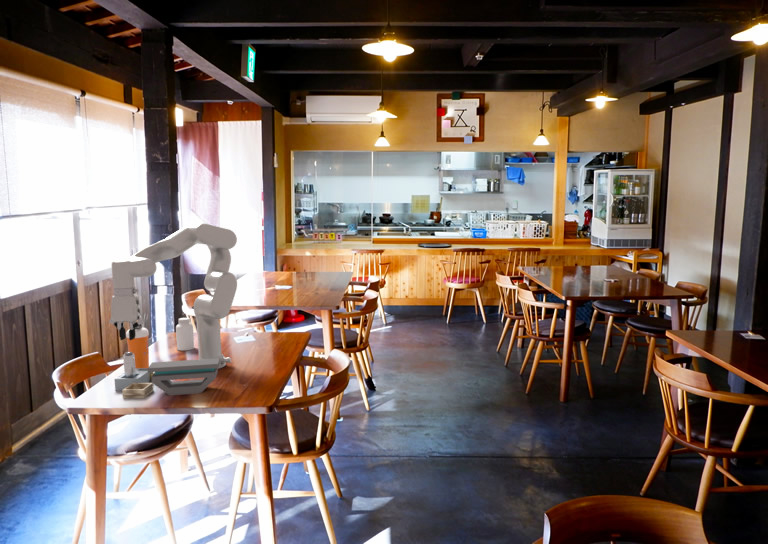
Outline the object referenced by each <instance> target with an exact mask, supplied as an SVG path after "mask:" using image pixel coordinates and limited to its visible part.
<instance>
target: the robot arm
mask: <svg viewBox="0 0 768 544" xmlns="http://www.w3.org/2000/svg"><path fill="white" fill-rule="evenodd" d="M237 240H238V237H237V235H236V233H235V232H234V231H233V230H231V229H229V228H226V227H225V228H224V227H221V226H217V225H212V224H208V223H205V222H204V223H203V222H191V223H188V224H186V225H184V226H183V227H182V228H180V229H179V230H177V231H175V232H174V233H172V234H170V235H168V236H167V237H166V238H165V239H162V240H159V241H157V242H156V243H153V244H151V245H149V246H148V245H147V247H144V248H143V249H141V250H139V251H138V252H136V253H135V254H133V255H132V256H130V257H128V259H116V260H113V261H112V262H111V274H112V275H111V276H112V287H113V288H112V289H113V290H112V291H113V292H112V293H113V295H112V297H111V303H110V316H111V317H110V318H109V320H108V323H109V324H111V325H113V326H114V327H115V328H117V330H118V336H119V338H120V341H123V340H125V339H127V338H126V332H127V330H126V327H125V326H124V325H125V323H129V324H128V325H129V329H130V330H129V329H128V330H129V339H130V340H133V339H134V338H135V336H136V335H135V328H136V327H137V326H138V325H139V324H143V323H144V322H145V321H144V319H143V317H142V307H141V302H140V298H139V296H138V294H137V293H139V289H138V288H136V287H135V286H136V285H135V278H150V277H152V276H153V275H154V274H155V273H156V271H157V264H156V263H158V262H162V261H167V260H170V259H171V260H172V259H174V258H177V257H179V256H181V255H182V254H184V253H185V252H186V251H188V250H189V249H191V248H192V247H194V246H195V245H197V244H199V245H200V244H201V245H206V246H207V247H208V250H209V252H210V261H209V265H208V268H207V271H206V274H205V278H204V281H203V286H204V288H205V289H206V291H209V292H212V293H213V294H207V293H204V294H200V295H199V296H197V297H196V298H195V300H194V302H193V311H194V316H195V320H196V321H195V322H196V331H197V348H198V360H200V359H216V358H220V364H219V367H218V368H217V369H218V370H219V369H222V368H224V367H225V366H226V365H227V364H230V363H232V358H231V357H230V356H229V357H225V354H223V353H222V343H221V342H222V339H221V324H220V323H221V322H220V320H223V319H224V318H226V317H227V316H228V314H229V313H230V311H231V308H232V305H233V302H234V299H235V295H236V292H237V288H238V282H237V278H236V276H235V274H233V273H231V271H230V272H229V270H230V267H231V263H232V255H231V252H230V250H232V249H233V248H234V247H235V246H236V245H237V242H238V241H237Z"/></svg>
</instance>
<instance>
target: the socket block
mask: <svg viewBox="0 0 768 544" xmlns="http://www.w3.org/2000/svg"><path fill="white" fill-rule="evenodd" d="M149 373H154V372H148V368H136V377H135V378H125V372H123V373H121V374H119V376H117V377H115V378H114V390H115V391H122V390H123V389H124V388H126V387H127V386H129V385H130V384H132V383H148V382H149V381H150V374H149ZM150 382H151V381H150ZM150 382H149V383H150Z"/></svg>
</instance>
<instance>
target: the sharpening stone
mask: <svg viewBox="0 0 768 544" xmlns="http://www.w3.org/2000/svg"><path fill="white" fill-rule="evenodd" d="M219 364H220V358H216V359H200V360H199V359H185V360H171V361H170V360H169V361H155V362H154V361H153V362H151V363H150V364H149V367H148V372H153V373H154V374H153V376H152V381H151V383H153V385H155V386H156V387H157V388H158V389H160V391H162V392H163V393H165V394H167V395H168V396H181V395H193V394H194V393H195V394H202V393H203V392H204V391H205V389H207V387H209V386H210V385H211V383H213V382H214V380H215V379H216V378H217V375H218V373H219V372H218V370H219V369H217V368H218V367H219ZM188 379H189V380H188ZM190 379H191V380H190ZM174 380H175V381H174ZM195 394H194V395H195Z"/></svg>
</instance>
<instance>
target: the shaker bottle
mask: <svg viewBox="0 0 768 544" xmlns="http://www.w3.org/2000/svg"><path fill="white" fill-rule="evenodd" d="M129 330H130V328H129V329H128V330H126V338H125V339H126V342H127V343H126V344H127V350H128V351H127V352H133V354H134V355H135V368H148V367H149V366H150V356H149V355H150V353H149V350H150V349H149V346H150V344H149V336H150V334H149V333H150V332H149V330H148V328H146V327H144V324H143V323H141V324H139V325H138V326H137V327H136V328H135V335H136V336H135V338H134V339H133V340H130V339H129Z"/></svg>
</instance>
